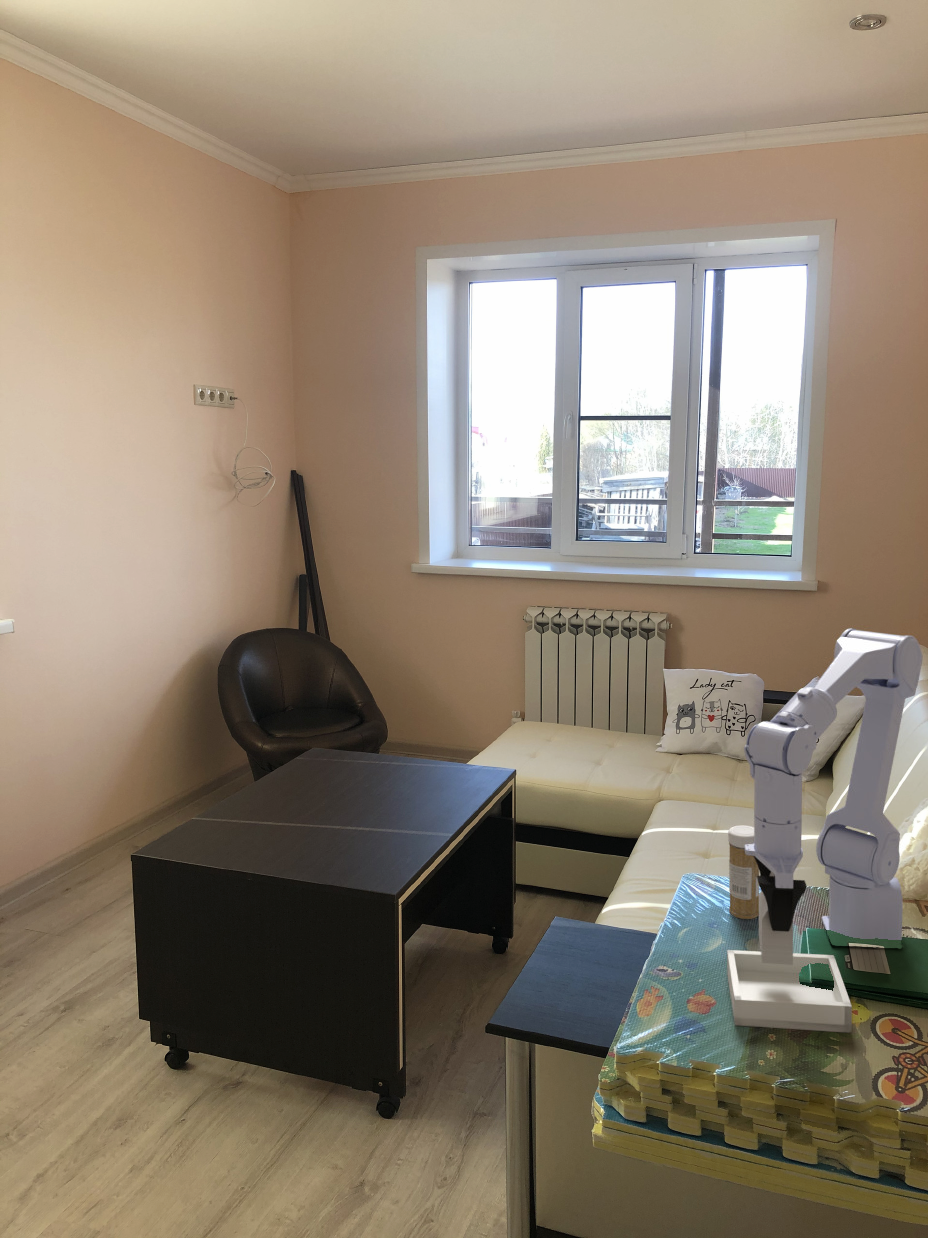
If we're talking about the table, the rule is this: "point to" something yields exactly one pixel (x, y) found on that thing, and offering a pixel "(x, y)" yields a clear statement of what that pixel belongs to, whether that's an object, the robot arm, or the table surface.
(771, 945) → the white gable-top carton
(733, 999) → the bin
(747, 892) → the sprinkles bottle
